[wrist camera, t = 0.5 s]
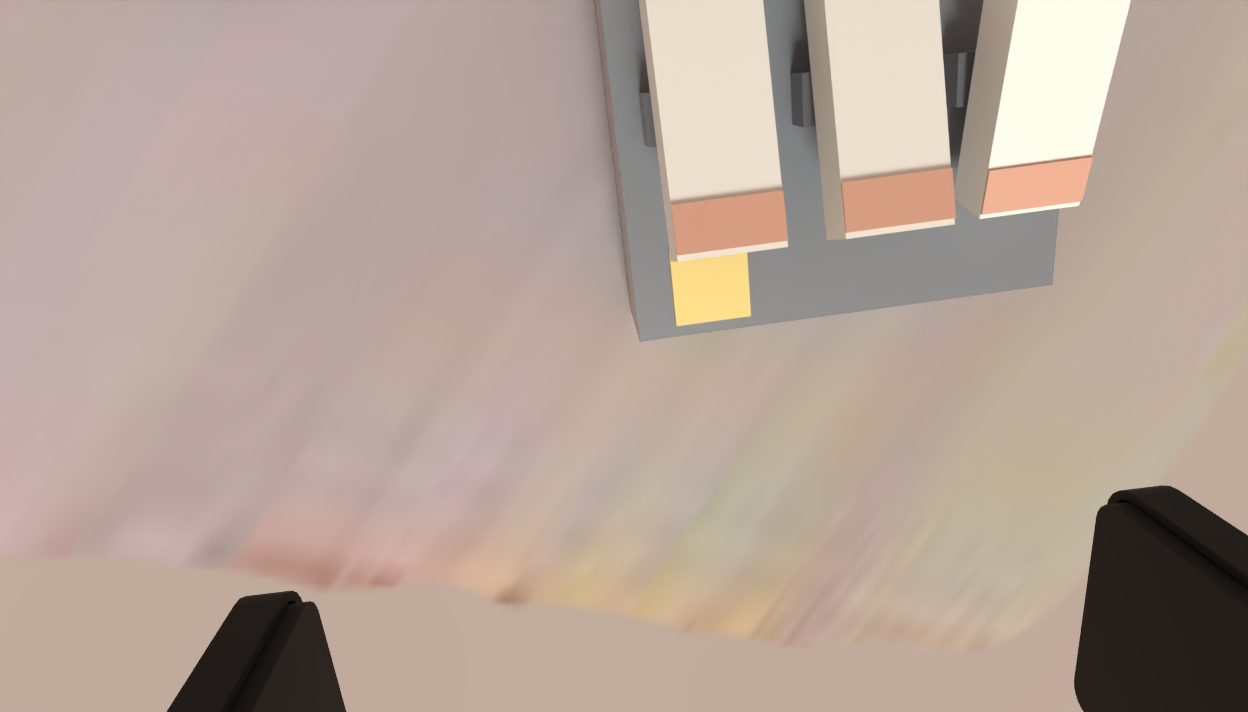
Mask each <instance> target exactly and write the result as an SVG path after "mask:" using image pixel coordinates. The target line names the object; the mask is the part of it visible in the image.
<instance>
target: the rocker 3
mask: <svg viewBox="0 0 1248 712" xmlns="http://www.w3.org/2000/svg"><path fill="white" fill-rule="evenodd" d="M1130 1H1131V0H984V1H983V8H982V14H981V21H980V27H979V34H978V40H977V47H976V53H975V60H974V66H973V73H972V79H971V86H970V92H969V99H968V105H967V112H966V118H965V125H964V131H963V138H962V144H961V151H960V157H959V164H958V170H957V177H956V183H955V190H954V197H955V199H956V200H957V201H958V202H959V203H961V204H962V205H963V206H964V207H965V208H967V209H968V210H969V211H970V212H972V213H973V214H974V215H975V216H976V217H978V218H979V219H984V218H991V217H998V216H1006V215H1013V214H1021V213H1028V212H1035V211H1043V210H1050V209H1058V208H1065V207H1073V206H1079V203H1080V202H1081V201H1082V199H1083V195H1084V191H1085V187H1086V183H1087V179H1088V175H1089V171H1090V168H1091V164H1092V160H1093V157H1092V152H1093V148H1094V144H1095V140H1096V136H1097V132H1098V128H1099V124H1100V120H1101V116H1102V112H1103V108H1104V104H1105V100H1106V96H1107V92H1108V88H1109V84H1110V80H1111V76H1112V72H1113V68H1114V65H1115V61H1116V57H1117V53H1118V49H1119V45H1120V41H1121V37H1122V33H1123V29H1124V25H1125V21H1126V17H1127V13H1128V9H1129V5H1130Z"/></svg>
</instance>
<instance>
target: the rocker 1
mask: <svg viewBox="0 0 1248 712" xmlns="http://www.w3.org/2000/svg"><path fill="white" fill-rule="evenodd" d="M639 7H640V16H641V24H642V32H643V40H644V48H645V56H646V64H647V72H648V81H649V89H650V97H651V105H652V113H653V121H654V129H655V137H656V146H657V154H658V162H659V170H660V178H661V186H662V194H663V202H664V211H665V219H666V227H667V235H668V243H669V251H670V259H671V261H674V262H680V261H688V260H695V259H703V258H710V257H717V256H725V255H732V254H740V253H747V252H754V251H762V250H769V249H777V248H784V247H788V232H787V223H786V213H785V203H784V193H783V190H782V181H781V172H780V162H779V152H778V142H777V132H776V122H775V113H774V103H773V93H772V83H771V73H770V63H769V53H768V44H767V34H766V24H765V14H764V4H763V0H639Z"/></svg>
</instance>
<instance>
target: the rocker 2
mask: <svg viewBox="0 0 1248 712" xmlns="http://www.w3.org/2000/svg"><path fill="white" fill-rule="evenodd" d="M804 5H805V16H806V27H807V37H808V48H809V58H810V69H811V80H812V90H813V101H814V111H815V122H816V132H817V143H818V154H819V164H820V175H821V185H822V196H823V207H824V217H825V228H826V238H827V240H839V239H851V238H858V237H866V236H873V235H881V234H888V233H895V232H903V231H910V230H918V229H925V228H932V227H940V226H947V225H955V218H956V211H955V197H954V183H953V169H952V168H951V162H950V148H949V133H948V119H947V105H946V91H945V77H944V63H943V49H942V35H941V21H940V7H939V0H804Z"/></svg>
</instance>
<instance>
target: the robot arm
mask: <svg viewBox="0 0 1248 712" xmlns="http://www.w3.org/2000/svg"><path fill="white" fill-rule="evenodd" d="M1074 687H1075V692H1076V696H1077V699H1078V702H1079V704H1080V706H1081V708H1082V710H1083V711H1084V712H1248V535H1246V534H1245V533H1243V532H1242V531H1240V530H1238V529H1237V528H1235V527H1234V526H1232V525H1231V524H1229V523H1228V522H1226V521H1225V520H1223V519H1222V518H1220V517H1219V516H1217V515H1216V514H1214V513H1213V512H1211V511H1210V510H1208V509H1207V508H1205V507H1203V506H1202V505H1201V504H1199V503H1197V502H1196V501H1194V500H1193V499H1191V498H1190V497H1188V496H1187V495H1185V494H1184V493H1182V492H1181V491H1179V490H1177V489H1175V488H1173V487H1171V486H1154V487H1146V488H1138V489H1130V490H1121V491H1118V492H1116V493H1113V494H1112V496H1111V497H1110V498H1109V500H1108V503H1107V505H1104V506H1102V507H1101V508H1100V509H1099V511H1098V513H1097V517H1096V523H1095V531H1094V538H1093V545H1092V553H1091V560H1090V567H1089V575H1088V582H1087V589H1086V597H1085V604H1084V612H1083V620H1082V627H1081V635H1080V641H1079V648H1078V656H1077V663H1076V671H1075V679H1074ZM167 712H346V710H345V706H344V702H343V699H342V695H341V691H340V688H339V684H338V680H337V677H336V673H335V669H334V666H333V662H332V658H331V655H330V651H329V648H328V644H327V640H326V636H325V633H324V629H323V625H322V622H321V618H320V615H319V611H318V609H317V607H316V605H315V604H314V603H313V602H302V600H301V597H300V596H299V595H298V593H297V592H294V591H286V592H277V593H269V594H261V595H252V596H246V597H243V598H240V599H239V600H238V601H237V603H236V604H235V605H234V607H233V608H232V610H231V611H230V613H229V614H228V616H227V618H226V619H225V621H224V622H223V624H222V625H221V627H220V629H219V630H218V632H217V633H216V635H215V636H214V638H213V640H212V641H211V643H210V644H209V646H208V648H207V649H206V651H205V652H204V654H203V655H202V657H201V659H200V660H199V662H198V663H197V665H196V667H195V668H194V670H193V671H192V673H191V675H190V676H189V677H188V679H187V681H186V682H185V684H184V685H183V687H182V688H181V690H180V692H179V693H178V695H177V696H176V698H175V699H174V701H173V703H172V704H171V706H170V707H169V709H168V710H167Z"/></svg>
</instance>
